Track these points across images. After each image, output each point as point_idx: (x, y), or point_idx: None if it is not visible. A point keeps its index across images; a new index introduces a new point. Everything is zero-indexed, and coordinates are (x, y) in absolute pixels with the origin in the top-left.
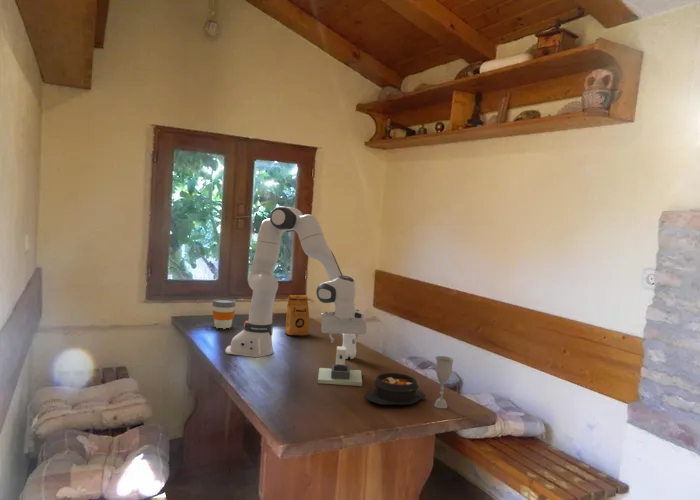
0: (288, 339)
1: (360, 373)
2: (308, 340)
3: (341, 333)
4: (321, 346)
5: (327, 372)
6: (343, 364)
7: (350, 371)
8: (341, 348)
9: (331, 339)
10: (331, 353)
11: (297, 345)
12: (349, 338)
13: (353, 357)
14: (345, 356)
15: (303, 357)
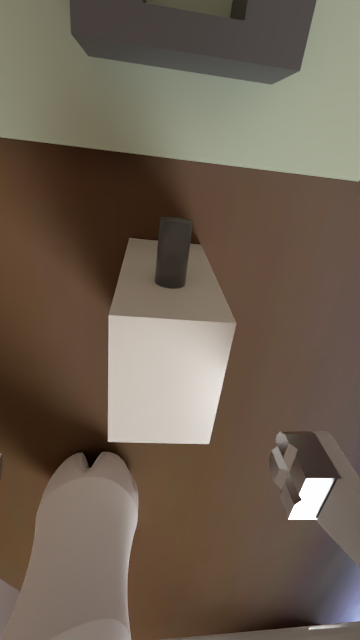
0: (333, 604)
1: None
2: (258, 609)
3: (218, 636)
4: (218, 571)
5: (330, 4)
6: (138, 253)
7: (71, 78)
8: (166, 372)
9: (353, 473)
10: (185, 511)
11: (320, 564)
12: (69, 608)
13: (63, 462)
14: (113, 461)
15: (350, 440)
